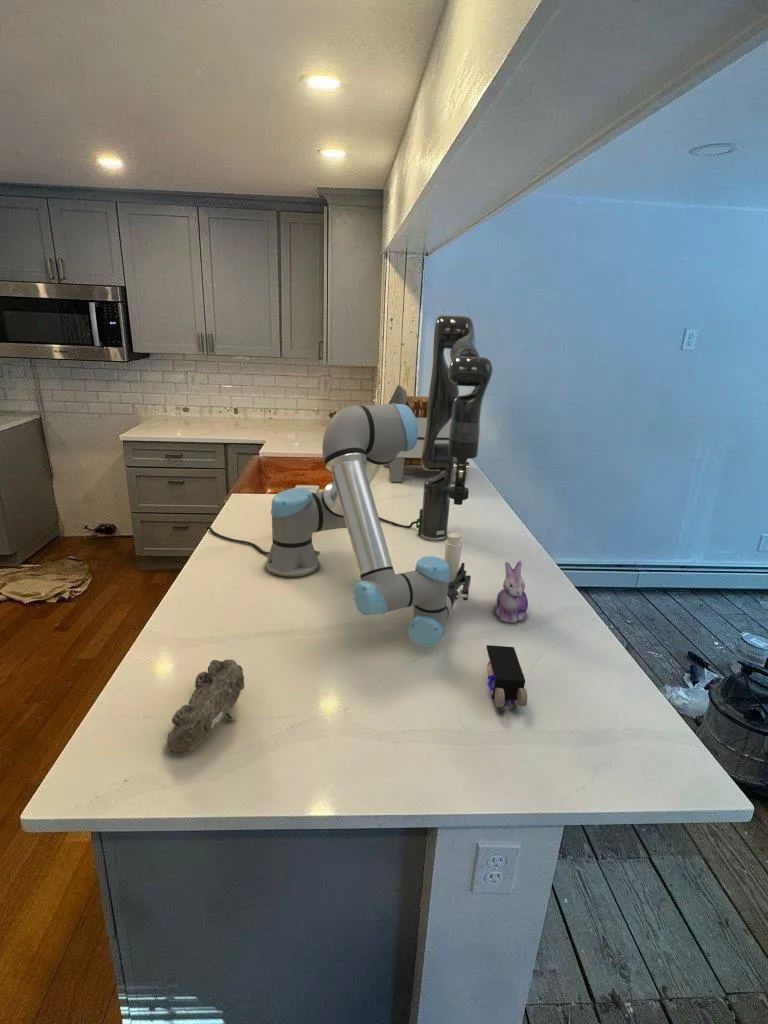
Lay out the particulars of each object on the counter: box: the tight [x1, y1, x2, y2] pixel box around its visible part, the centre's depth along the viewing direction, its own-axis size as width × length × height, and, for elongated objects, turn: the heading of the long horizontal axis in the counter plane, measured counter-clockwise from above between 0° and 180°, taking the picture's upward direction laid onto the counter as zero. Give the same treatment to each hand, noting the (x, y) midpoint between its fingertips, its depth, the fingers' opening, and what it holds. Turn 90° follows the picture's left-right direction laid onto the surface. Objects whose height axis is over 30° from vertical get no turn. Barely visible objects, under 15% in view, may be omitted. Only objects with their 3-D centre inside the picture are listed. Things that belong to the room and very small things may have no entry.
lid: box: [449, 485, 470, 501], centre depth 149 cm, size 5×5×2 cm
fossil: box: [166, 658, 245, 754], centre depth 106 cm, size 22×10×15 cm
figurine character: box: [485, 644, 528, 712], centre depth 117 cm, size 7×8×15 cm
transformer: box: [383, 384, 457, 484], centre depth 268 cm, size 34×33×41 cm
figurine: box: [495, 560, 529, 624], centre depth 147 cm, size 9×10×15 cm
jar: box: [443, 532, 462, 583], centre depth 156 cm, size 4×4×18 cm
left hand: (454, 565), depth 162 cm, fingers closed on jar, 4 cm apart
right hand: (458, 500), depth 150 cm, fingers closed on lid, 5 cm apart
